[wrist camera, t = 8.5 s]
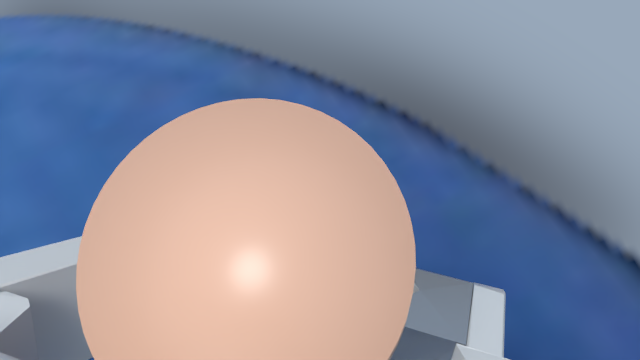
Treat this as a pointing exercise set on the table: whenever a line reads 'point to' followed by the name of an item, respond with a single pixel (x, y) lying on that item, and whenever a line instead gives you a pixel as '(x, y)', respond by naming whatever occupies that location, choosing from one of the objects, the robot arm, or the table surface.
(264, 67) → the table surface
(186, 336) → the marker
